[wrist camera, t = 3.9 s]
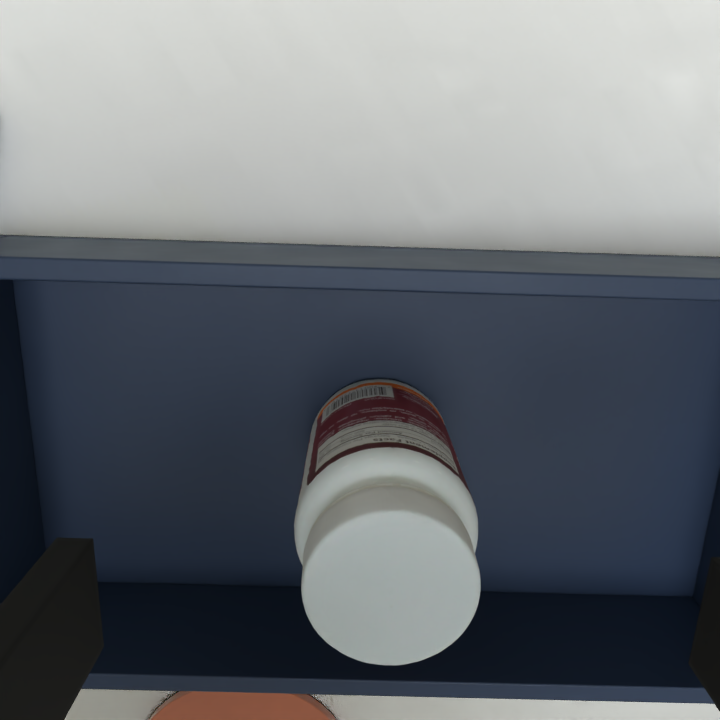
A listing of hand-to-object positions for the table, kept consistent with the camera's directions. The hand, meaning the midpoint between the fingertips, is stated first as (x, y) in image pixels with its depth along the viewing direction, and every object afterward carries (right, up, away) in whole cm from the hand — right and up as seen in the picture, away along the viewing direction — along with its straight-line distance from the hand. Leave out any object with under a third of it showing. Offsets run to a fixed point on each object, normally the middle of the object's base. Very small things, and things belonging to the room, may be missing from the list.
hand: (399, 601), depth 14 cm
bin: (0, +3, +9) cm, 9 cm away
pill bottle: (0, +2, +9) cm, 9 cm away
